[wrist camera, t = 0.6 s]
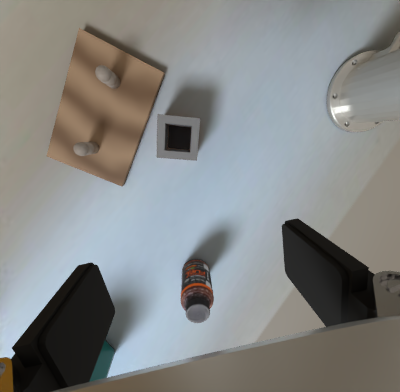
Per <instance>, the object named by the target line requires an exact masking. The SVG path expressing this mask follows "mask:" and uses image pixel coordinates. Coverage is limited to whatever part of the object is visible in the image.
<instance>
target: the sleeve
mask: <svg viewBox="0 0 400 392" xmlns="http://www.w3.org/2000/svg"><path fill="white" fill-rule="evenodd" d="M169 125H170V126H181V127H191V134H190V149H189V150H188V149H176V148H168V140H169ZM199 128H200V118H192V117H182V116H171V115H161V114H158V120H157V158H170V159H183V160H196V161H197V153H198V140H199Z"/></svg>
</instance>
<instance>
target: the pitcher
mask: <svg viewBox="0 0 400 392" xmlns="http://www.w3.org/2000/svg"><path fill="white" fill-rule="evenodd" d="M114 354H115V352H114V349H113V348H112V347H111V346H110V345H109V344H108V343H107V341H106V340H105V341H104V344H103V347H102V349H101V352H100V355H99V357H98V360H97V363H96V365H95V368H94V371H93V373H92V376H91V379H90V381H89V382H91V381H95V380H99V379H104V378H107V375H108V372H109V369H110V366H111V363H112V360H113V357H114Z"/></svg>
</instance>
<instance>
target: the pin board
mask: <svg viewBox="0 0 400 392" xmlns="http://www.w3.org/2000/svg"><path fill="white" fill-rule="evenodd" d="M164 75H165V74H164V72H162V71H160V70H158V69H156V68H154V67H152V66H150V65H148V64H147V63H145V62H143V61H141V60H139V59H137V58H135V57H133V56H131V55H129V54H128V53H126V52H124V51H122V50H120V49H118V48H116V47H114V46H112V45H111V44H109V43H107V42H105V41H103V40H101V39H99V38H97V37H95V36H93V35H92V34H90V33H88V32H86V31H84V30H82V29H80V28H79V31H78V35H77V39H76V43H75V47H74V51H73V55H72V58H71V62H70V66H69V70H68V74H67V78H66V82H65V86H64V90H63V94H62V98H61V102H60V106H59V110H58V114H57V117H56V121H55V125H54V129H53V133H52V137H51V141H50V145H49V149H48V153H47V156H48V157H50V158H53V159H55V160H57V161H60V162H62V163H65V164H67V165H70V166H72V167H75V168H77V169H80V170H82V171H85V172H87V173H90V174H92V175H95V176H97V177H100V178H102V179H105V180H107V181H110V182H112V183H115V184H117V185H120V186H123V185H124V184H125V181H126V178H127V176H128V173H129V170H130V168H131V165H132V162H133V159H134V157H135V154H136V151H137V149H138V146H139V143H140V140H141V138H142V135H143V132H144V129H145V127H146V124H147V121H148V119H149V116H150V113H151V110H152V108H153V105H154V102H155V100H156V97H157V94H158V91H159V89H160V86H161V83H162V81H163V78H164Z"/></svg>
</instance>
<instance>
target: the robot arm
mask: <svg viewBox="0 0 400 392" xmlns="http://www.w3.org/2000/svg"><path fill="white" fill-rule="evenodd" d="M399 47H400V32H398V33H397V34H396V36H395V38H394V39H393V41H392V44H391V45H390V47H388V48H387V49H384V50H382V51H376V50H374V51H366V52H363V53H360V54H358V55H356V56H354V57H352V58H351V59H349V60H348V61H346V62H345V63H344V64H343V65H342V66H341V67H340V68H339V70H338V71H337V72H336V74H335V75H334V77H333V79H332V81H331V83H330V86H329V89H328V94H327V109H328V113H329V116H330V118H331V119H332V121H333V122H334V124H335V125H336V126H337V127H339V128H340V129H342V130H345V131H348V132H363V131H367V130H370V129H372V128H374V127H376V126H378V125H379V124H380V123H382V122H383V121H394V120H400V48H399ZM282 235H283V249H284V263H285V272H286V274H287V276H288V278H289V279H290V280H291V281H292V283H293V284H294V285H295V287H296V288H297V289H298V291H299V292H300V293H301V295H302V296H303V297H304V298H305V300H306V301H307V302H308V304H309V305H310V306H311V308H312V309H313V310H314V311H315V313H316V314H317V315H318V317H319V318H320V319H321V320H322V322H323V323H324V324H325V326H326V327H324V328H319V329H315V330H309V331H305V332H300V333H296V334H292V335H287V336H283V337H278V338H274V339H270V340H265V341H261V342H256V343H252V344H248V345H243V346H239V347H234V348H230V349H226V350H222V351H217V352H213V353H209V354H204V355H200V356H196V357H192V358H187V359H183V360H179V361H175V362H170V363H166V364H162V365H158V366H153V367H149V368H145V369H141V370H137V371H133V372H129V373H124V374H120V375H116V376H112V377H108V378H104V379H99V380H95V381H91V382H89V381H90V379H91V376H92V373H93V371H94V368H95V365H96V363H97V360H98V357H99V355H100V352H101V349H102V347H103V344H104V341H105V339H106V336H107V333H108V331H109V328H110V325H111V323H112V320H113V317H114V314H115V308H114V305H113V303H112V300H111V298H110V295H109V293H108V290H107V288H106V285H105V283H104V280H103V278H102V275H101V273H100V270H99V268H98V266H97V265H94V264H93V263H87V264H82V265H79V266H77V268H76V269H75V270H74V271H73V273H72V274H71V275H70V276H69V278H68V279H67V280H66V281H65V283H64V284H63V285H62V286H61V288H60V289H59V290H58V291H57V292H56V294H55V295H54V296H53V297H52V299H51V300H50V301H49V302H48V304H47V305H46V306H45V307H44V309H43V310H42V311H41V312H40V314H39V315H38V316H37V317H36V319H35V320H34V321H33V322H32V324H31V325H30V326H29V327H28V329H27V330H26V331H25V332H24V334H23V335H22V336H21V337H20V339H19V340H18V341H17V342H16V343H15V345H14V346H13V347H12V349H13V351H14V352H15V355H14V356H13V357H12V359H10V358H7V357H4V358H0V392H400V272H394V271H382V272H379V273H376V274H373V273H371V272H370V271H369V270H368V267H367V266H366V265H364V264H363V263H361V262H360V261H358V260H357V259H356V258H354V257H353V256H351V255H350V254H348V253H347V252H345V251H344V250H342V249H341V248H340V247H338V246H337V245H335V244H334V243H332V242H331V241H330V240H328V239H327V238H325V237H324V236H322V235H321V234H319V233H318V232H316V231H315V230H314V229H312V228H311V227H309V226H308V225H306V224H305V223H303V222H302V221H301V220H299V219H293V220H288V221H286V222H285V224H283V225H282Z"/></svg>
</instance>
